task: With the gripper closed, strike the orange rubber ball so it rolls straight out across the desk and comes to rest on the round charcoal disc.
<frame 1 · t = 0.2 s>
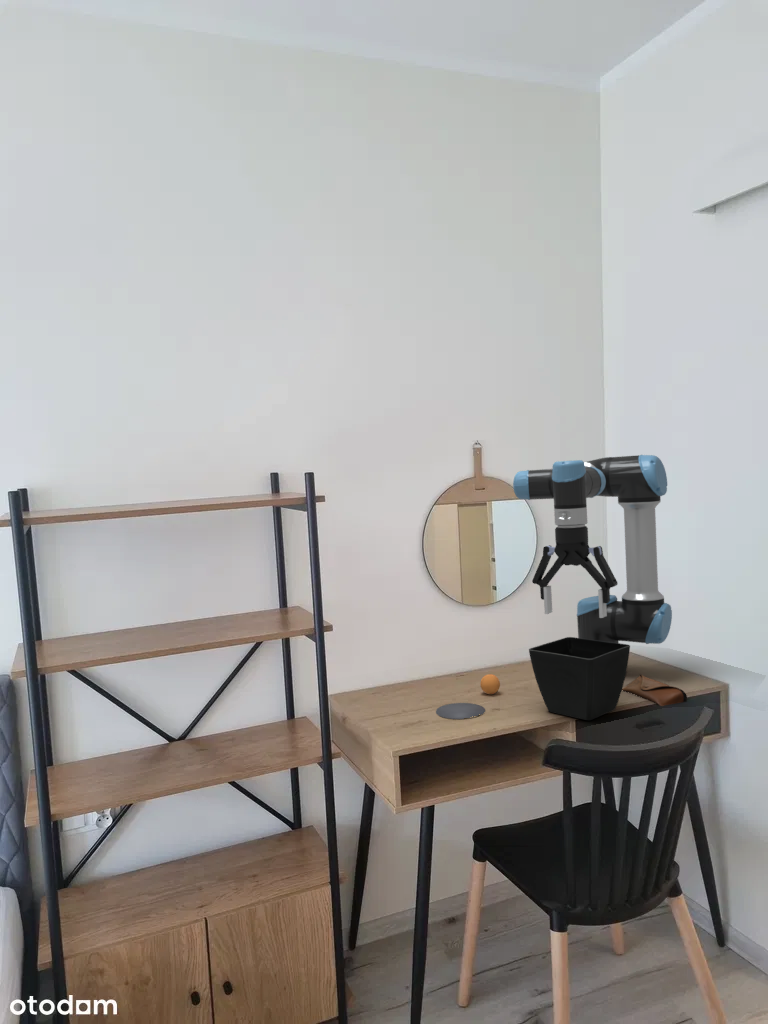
hand: (575, 615, 181), 28 cm above the table, tool pointing down, fingers open, 13 cm apart
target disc: (460, 711, 202), on the table
ball: (490, 684, 215), on the table
flower pot: (582, 711, 196), on the table
sunglasses case: (651, 698, 206), on the table
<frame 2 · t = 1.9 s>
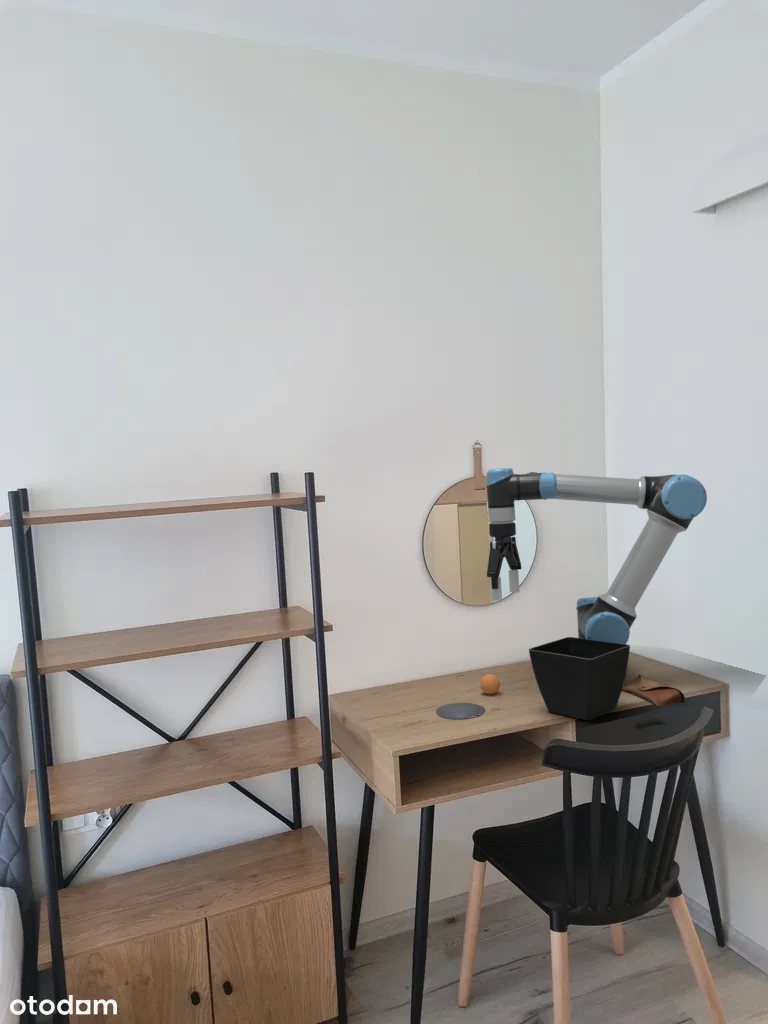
hand: (505, 596, 218), 27 cm above the table, tool pointing down, fingers open, 13 cm apart
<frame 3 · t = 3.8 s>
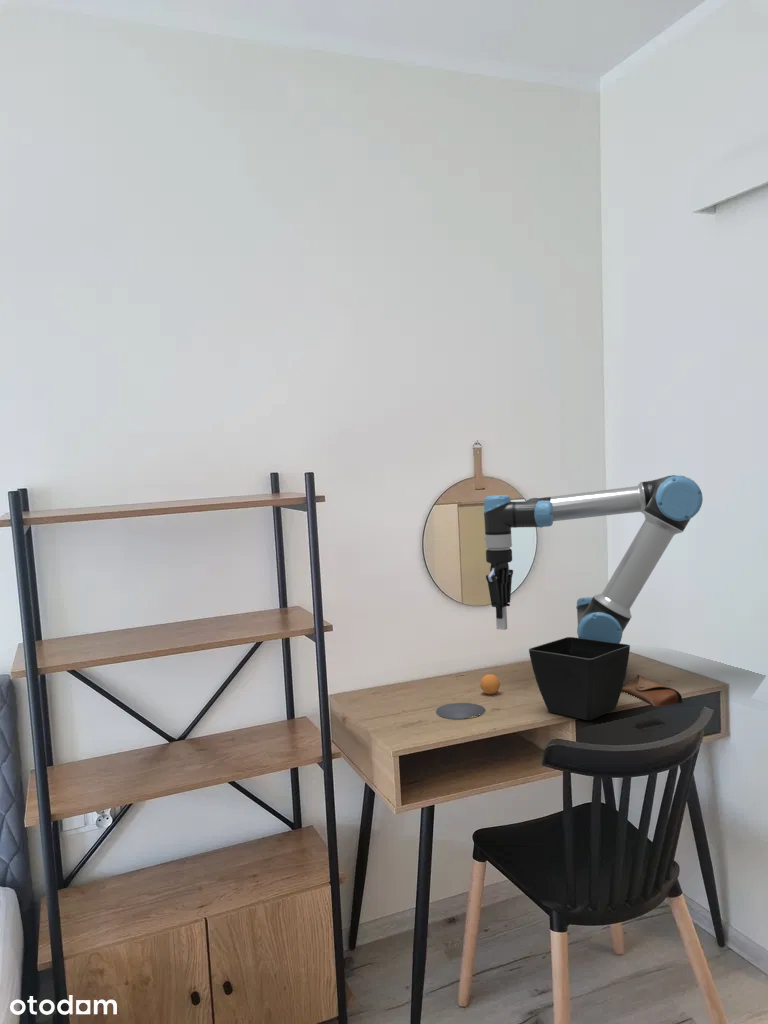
hand: (502, 628, 222), 17 cm above the table, tool pointing down, fingers closed
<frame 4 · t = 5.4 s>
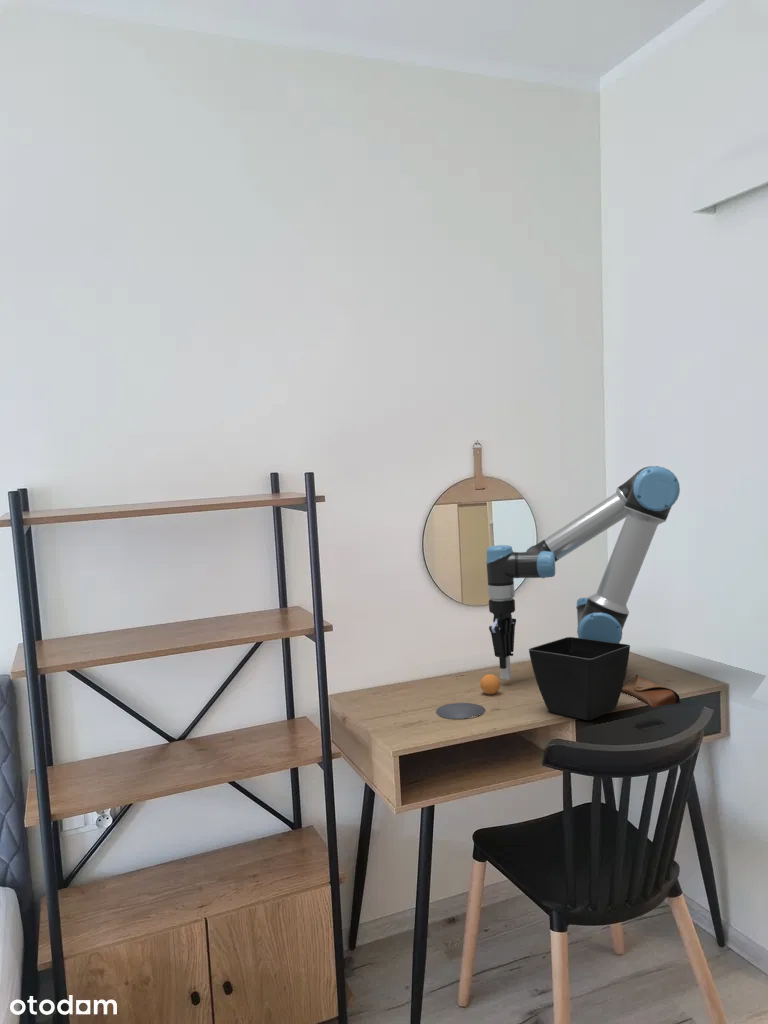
hand: (505, 678, 223), 2 cm above the table, tool pointing down, fingers closed
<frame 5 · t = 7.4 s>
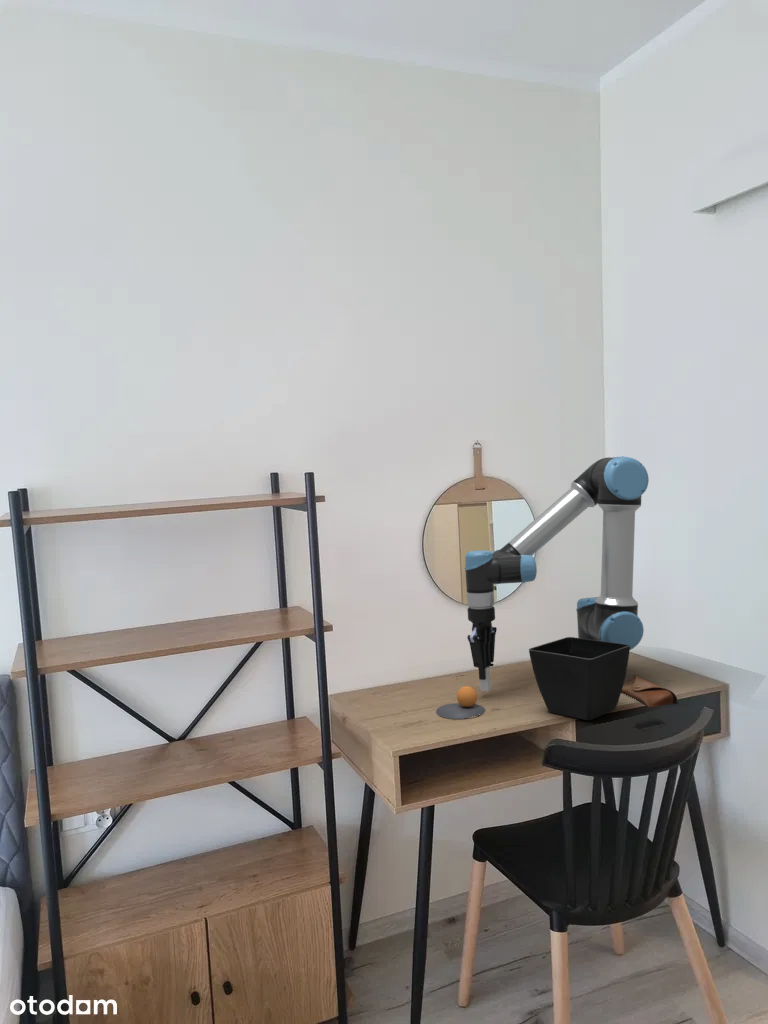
hand: (485, 689, 213), 2 cm above the table, tool pointing down, fingers closed
ball: (467, 696, 205), on the table
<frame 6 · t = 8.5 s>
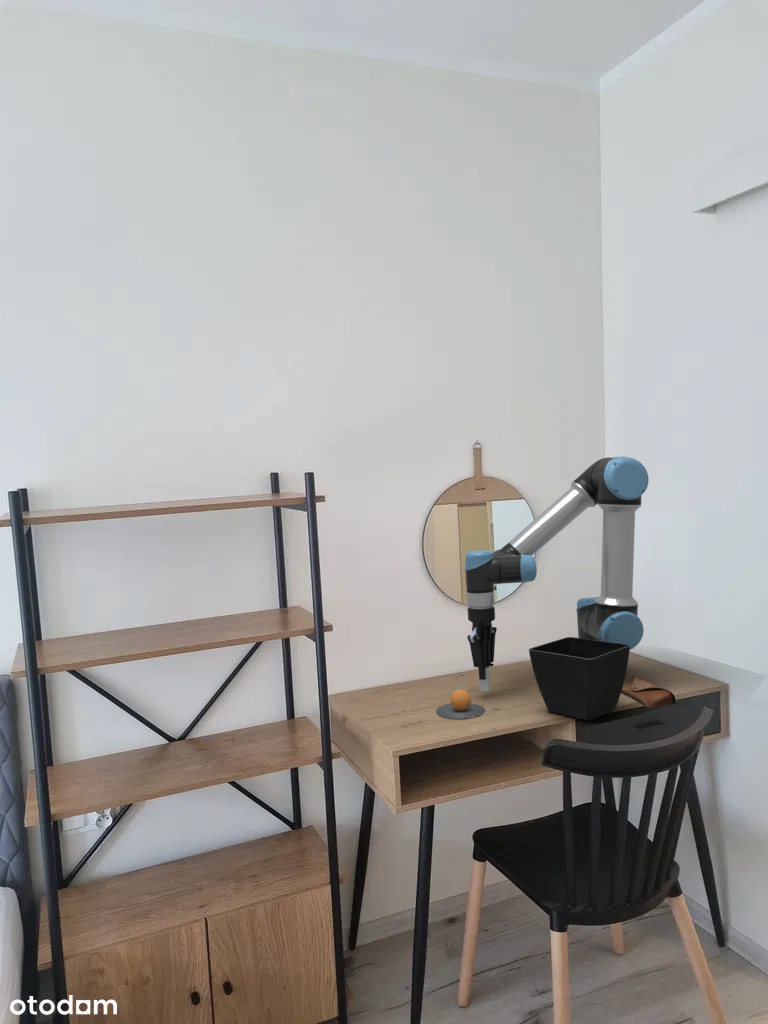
hand: (485, 689, 213), 2 cm above the table, tool pointing down, fingers closed
ball: (460, 700, 202), on the table
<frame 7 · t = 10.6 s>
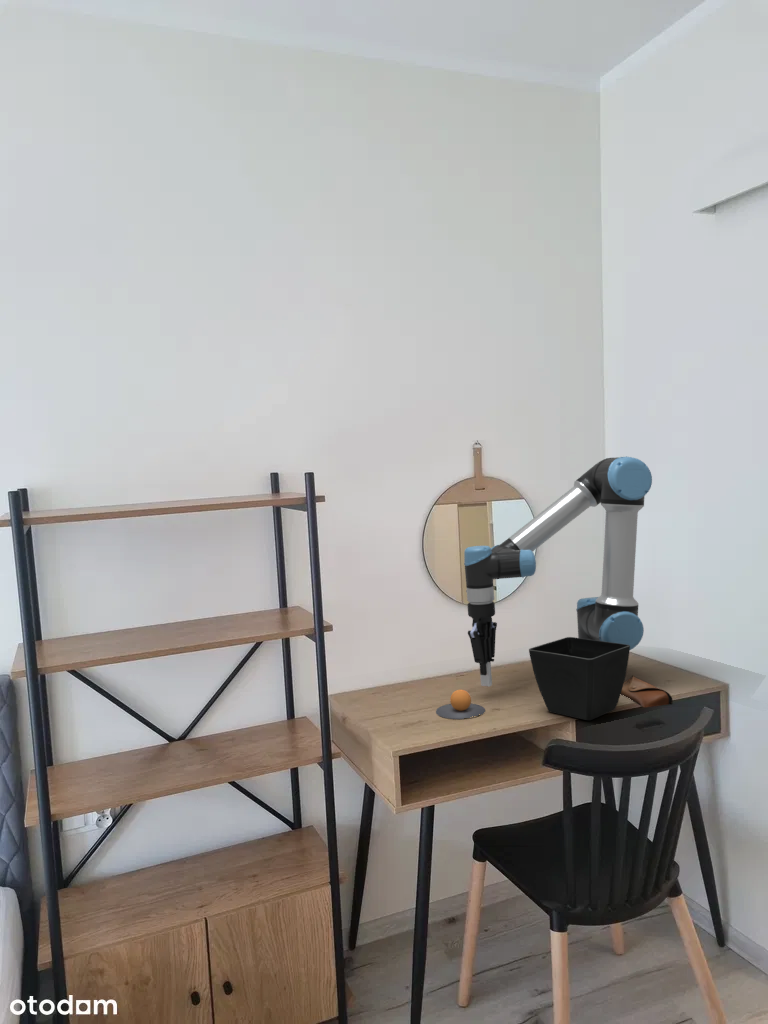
hand: (486, 685, 213), 3 cm above the table, tool pointing down, fingers closed
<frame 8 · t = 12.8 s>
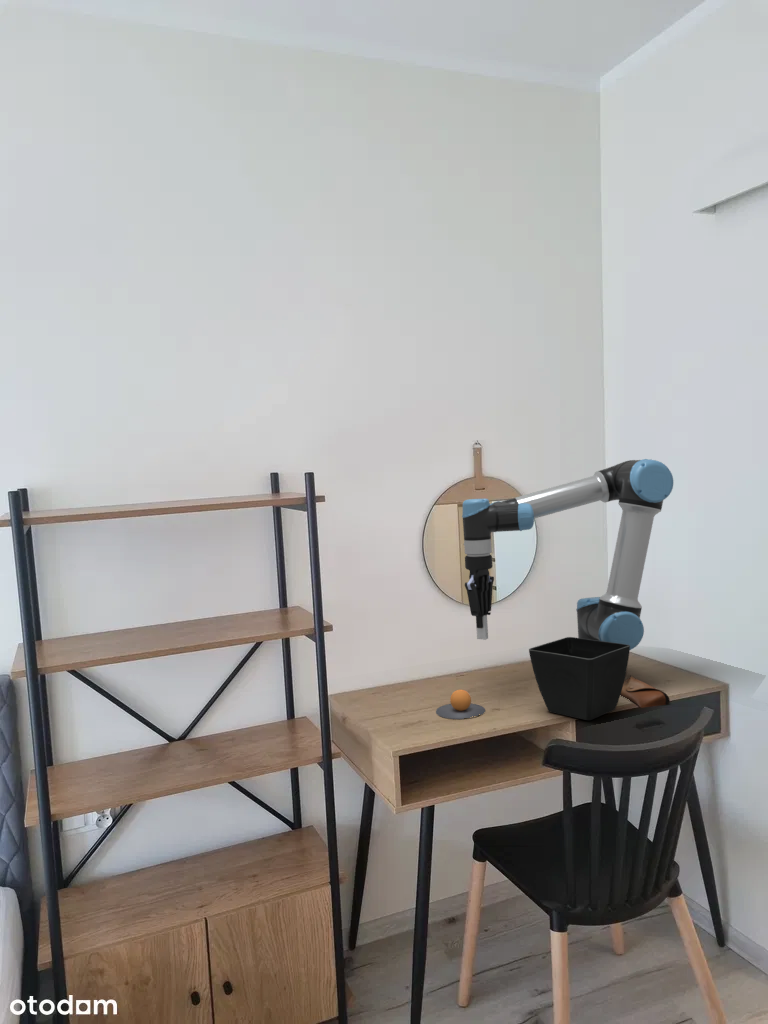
hand: (482, 638, 212), 16 cm above the table, tool pointing down, fingers closed
at the end: ball 0.7 cm from the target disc (horizontally); ball at rest at the end (0.0 cm/s); ball moved 16.3 cm from its start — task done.
